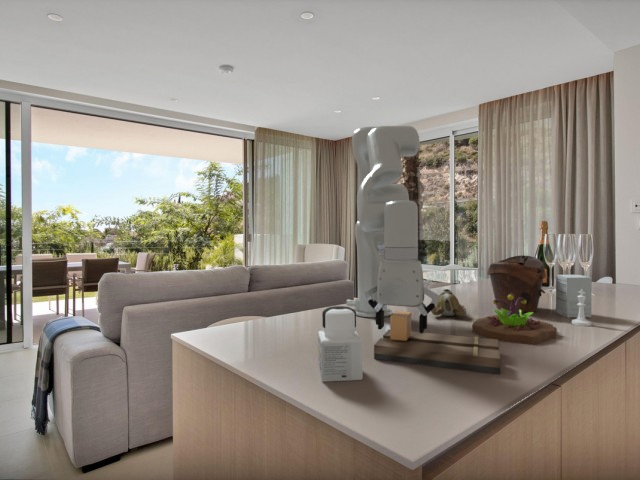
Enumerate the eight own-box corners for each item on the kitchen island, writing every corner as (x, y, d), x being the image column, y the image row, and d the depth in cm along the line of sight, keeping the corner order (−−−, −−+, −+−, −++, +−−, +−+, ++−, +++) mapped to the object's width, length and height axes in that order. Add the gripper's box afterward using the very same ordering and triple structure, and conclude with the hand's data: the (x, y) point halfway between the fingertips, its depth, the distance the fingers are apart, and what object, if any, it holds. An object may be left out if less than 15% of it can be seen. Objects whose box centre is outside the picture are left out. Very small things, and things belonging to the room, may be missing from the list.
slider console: (374, 358, 86) (374, 344, 86) (388, 341, 99) (388, 328, 99) (500, 374, 77) (500, 357, 76) (498, 352, 89) (498, 338, 89)
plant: (460, 334, 106) (460, 293, 106) (487, 321, 120) (487, 284, 120) (544, 349, 92) (544, 302, 92) (563, 332, 107) (563, 291, 106)
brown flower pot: (496, 314, 127) (496, 259, 127) (481, 302, 147) (481, 254, 146) (556, 316, 124) (557, 259, 124) (533, 304, 144) (533, 254, 143)
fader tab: (390, 348, 89) (390, 316, 89) (396, 341, 94) (395, 310, 94) (406, 350, 87) (406, 317, 87) (411, 342, 93) (411, 311, 93)
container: (318, 367, 81) (317, 304, 81) (355, 366, 82) (355, 303, 81) (321, 382, 73) (321, 312, 73) (362, 380, 74) (362, 311, 74)
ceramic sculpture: (461, 284, 134) (468, 295, 119) (461, 310, 134) (468, 323, 120) (428, 284, 136) (431, 294, 121) (428, 309, 137) (431, 322, 122)
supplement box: (578, 312, 129) (579, 274, 129) (592, 318, 122) (592, 277, 121) (554, 312, 130) (555, 274, 129) (566, 317, 122) (567, 277, 122)
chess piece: (585, 326, 111) (585, 291, 111) (567, 323, 116) (567, 289, 115) (595, 324, 114) (595, 290, 113) (577, 321, 118) (577, 287, 118)
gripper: (359, 255, 90) (359, 330, 91) (438, 257, 83) (438, 338, 84) (368, 253, 97) (368, 323, 98) (442, 254, 90) (442, 329, 91)
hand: (401, 329), depth 91 cm, fingers open, 9 cm apart
